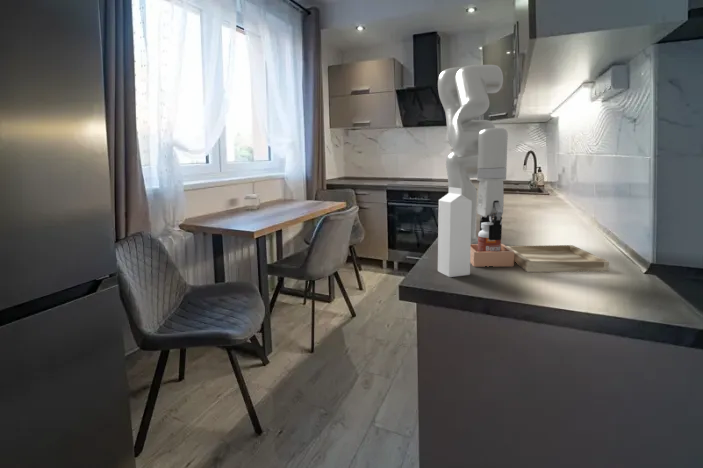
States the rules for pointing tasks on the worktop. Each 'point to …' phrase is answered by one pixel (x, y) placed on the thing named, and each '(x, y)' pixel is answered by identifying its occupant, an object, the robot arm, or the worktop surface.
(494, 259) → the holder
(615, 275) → the worktop surface
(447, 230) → the milk
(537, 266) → the tray
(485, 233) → the pill bottle
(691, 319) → the worktop surface
